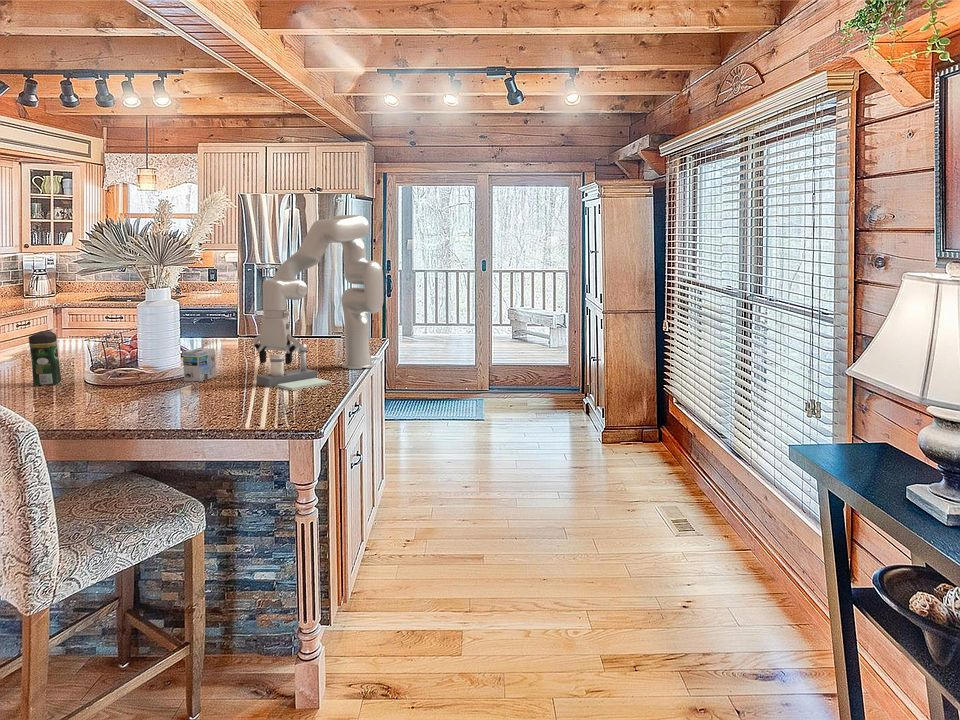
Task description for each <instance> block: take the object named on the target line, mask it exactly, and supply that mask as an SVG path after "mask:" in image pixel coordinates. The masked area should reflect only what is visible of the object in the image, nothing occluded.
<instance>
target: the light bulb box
mask: <svg viewBox="0 0 960 720" xmlns="http://www.w3.org/2000/svg"><path fill="white" fill-rule="evenodd" d="M182 361H183V377H184V382H194V381H199V383H200V381H201V382H204V381H203V380H205V381H207V380H206V379H208V380H210V378H211V379H214V378H217V369H216V350H215V348H211V347H210V348H207V347H198V348H193V349H190V350H187V351H182ZM213 377H214V378H213Z"/></svg>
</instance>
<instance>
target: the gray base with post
mask: <svg viewBox="0 0 960 720" xmlns="http://www.w3.org/2000/svg"><path fill="white" fill-rule="evenodd" d="M299 352H300V351H299ZM299 355H300V356H299V358H300V360H299V361H300V368H297V369H291V370H285V371H284V376H278V377H273V376H271V373H266V374H259V375H256V378H255V379H256V385H258V384H260V385H259V386H262V385H264V387H266V386H267V387H268V388H271V387H272V386H274V387H277V384H283V383H288V382H294V381H300V380H306V379H312V378H318V370H313V369H310V368H307V351H305V352H300V353H299Z"/></svg>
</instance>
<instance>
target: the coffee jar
mask: <svg viewBox="0 0 960 720" xmlns="http://www.w3.org/2000/svg"><path fill="white" fill-rule="evenodd" d="M28 344H29V345H28V347H29V351H30V358H31V359H30V360H31V368H32V369H31V371H32V380H33V381H32V382H33V385H34V386H35V385H48V386H55V385H59V383H61V381H62V375H61V367H60V359H59V351H58V338H57V334H56V333H55V332H53V331H52V330H42V331H38V332H36V333H34V334H31V335H30V336H28ZM54 384H55V385H54Z"/></svg>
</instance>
